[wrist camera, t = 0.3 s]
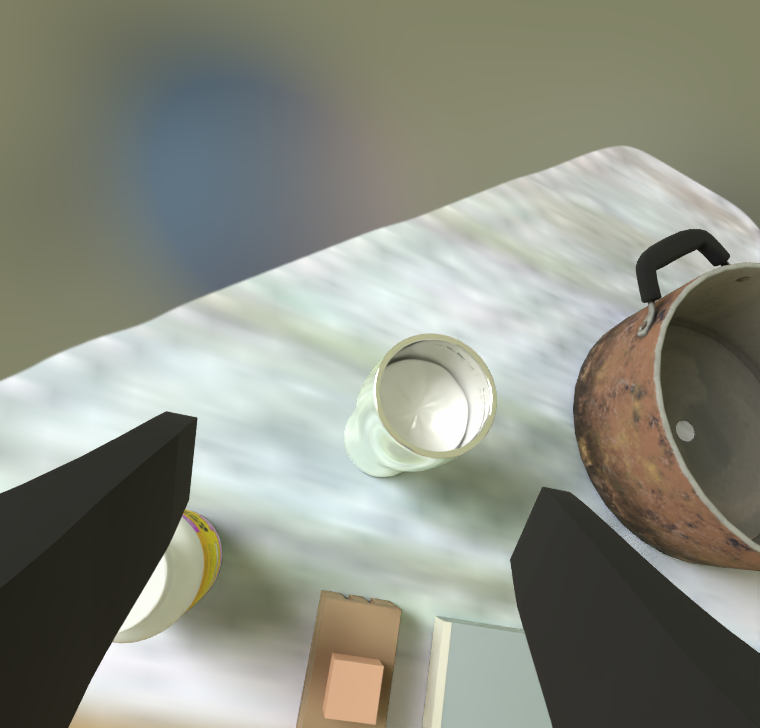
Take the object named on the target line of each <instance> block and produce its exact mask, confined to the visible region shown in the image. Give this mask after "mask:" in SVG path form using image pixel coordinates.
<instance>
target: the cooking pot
mask: <svg viewBox="0 0 760 728" xmlns="http://www.w3.org/2000/svg"><path fill="white" fill-rule="evenodd" d="M696 249H697V250H698V251H699V252H700V253H702V254H703V255H704V256H705V257H706V258H707V259H708V261H709V262H710V263H711V264H712V265H713V266H719V265H721V266H722V267H719V268H717V269H714V270H712V271H709V272H707V273H704V274H702V275H701V276H699V277H697V278H696V279H694V280H692V281H690V282H689V283H687V284H685V285H683V286H682V287H680V288H678V289H677V290H675V291H673V292H671V293H670V294H668V295H666V296H665V297H663V298H661V293H660V289H659V285H658V281H657V274H656V270H658V269H660V268H662V267H664V266H666V265H668V264H670V263H671V262H673V261H675V260H677V259H678V258H680V257H682V256H684V255H686V254H688V253H690V252H692V251H695V250H696ZM729 258H730V254H729V253H728V252H727V251H726V250H725V248H724V247H723V246H722V245H721V244H720V243H719V242H718V241H717V240H716V239H715V238H714V237H713V236H712V235H711V234H710V233H708V232H707V231H705V230H701V229H689V230H684V231H680V232H678V233H676V234H673V235H671V236H669V237H667V238H665V239H663V240H661V241H659V242H657V243H656V244H654V245H652V246H651V247H649V248H648V249H647V250H646V251H644V252H643V253H642V254H641V256H640V258H639V259H638V261H637V264H636V275H637V281H638V286H639V291H640V295H641V300H642V302H643V303H647V302H648V306H647V307H646V308H644V309H642V310H640V311H639V312H637V313H635V314H634V315H632V316H630V317H628V318H627V319H625V320H623V321H622V322H621V323H619V324H618V325H617V326H615V327H614V328H612V329H611V330H610V331H608V332H607V333H606V334H604V335H603V336H602V337H601V338H600V339H599V341H598V342H597V343H596V344H595V345H594V346H593V348H592V349H591V350H590V352H589V354H588V356H587V357H586V359H585V361H584V363H583V365H582V367H581V370H580V373H579V376H578V380H577V383H576V386H575V395H574V405H573V414H574V426H575V435H576V439H577V443H578V447H579V451H580V455H581V458H582V461H583V463H584V465H585V468H586V470H587V473H588V475H589V477H590V480H591V482H592V483H593V485H594V487H595V488H596V490H597V492H598V493H599V495H600V496H601V498H602V500H603V501H604V503H605V504H606V505H607V507H608V508H609V509H610V510H611V511H612V512H613V514H614V515H615V516H616V517H617V518H618V519H619V521H620V522H621V523H622V524H623V525H624V526H626V527H627V528H628V529H629V530H630V531H631V532H633V533H634V534H635V535H636V536H637V537H639V538H640V539H641V540H642V541H644V542H645V543H647V544H649V545H650V546H652V547H654V548H655V549H657V550H659V551H661V552H662V553H664V554H667V555H669V556H672V557H675V558H678V559H680V560H683V561H686V562H691V563H697V564H704V565H711V566H718V567H726V568H736V569H746V570H755V571H760V263H746V262H745V263H738V264H732V265H731V264H729V263H728V262H727V261H728V259H729ZM660 298H661V299H660ZM656 300H658V301H656ZM655 301H656V302H655ZM679 421H687V422H689V423H690V424H691V425H692V426H693V428H694V432H695V435H694V438H693V439H692V441H689V442H685V441H683V440H681V439H680V438H679V437H678V435H677V433H676V425H677V423H678V422H679Z"/></svg>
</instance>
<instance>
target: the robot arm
mask: <svg viewBox="0 0 760 728" xmlns="http://www.w3.org/2000/svg"><path fill="white" fill-rule="evenodd" d="M196 427H197V417H192V416H187V415H182V414H177V413H172V412H167V411H166V412H164V413H162V414H160V415H158V416H156V417H154V418H152V419H151V420H149V421H147V422H145V423H143V424H141V425H140V426H138V427H136V428H134V429H132V430H130V431H129V432H127V433H125V434H123V435H121V436H119V437H118V438H116V439H114V440H112V441H110V442H108V443H106V444H104V445H102V446H100V447H99V448H97V449H95V450H93V451H91V452H89V453H87V454H85V455H83V456H81V457H79V458H77V459H75V460H73V461H71V462H69V463H67V464H65V465H62V466H60V467H58V468H56V469H54V470H52V471H50V472H47V473H45V474H43V475H41V476H39V477H37V478H35V479H33V480H30V481H28V482H26V483H24V484H22V485H19V486H17V487H15V488H12V489H10V490H8V491H5V492H3V493H1V494H0V728H68V727H69V725H70V723H71V721H72V719H73V717H74V715H75V713H76V711H77V708H78V706H79V704H80V702H81V700H82V698H83V696H84V694H85V692H86V690H87V687H88V685H89V683H90V681H91V679H92V677H93V676H94V674H95V672H96V670H97V668H98V666H99V665H100V663H101V661H102V659H103V657H104V655H105V653H106V652H107V650H108V648H109V647H110V645H111V643H112V642H113V640H114V638H115V637H116V635H117V633H118V631H119V630H120V628H121V626H122V625H123V623H124V621H125V620H126V618H127V616H128V615H129V613H130V611H131V610H132V608H133V606H134V604H135V603H136V601H137V599H138V598H139V596H140V594H141V593H142V591H143V589H144V588H145V586H146V584H147V583H148V581H149V579H150V577H151V576H152V574H153V572H154V571H155V569H156V567H157V566H158V564H159V562H160V560H161V559H162V557H163V555H164V553H165V552H166V550H167V548H168V546H169V545H170V542H171V540H172V538H173V536H174V534H175V531H176V529H177V527H178V525H179V522H180V520H181V518H182V515H183V513H184V510H185V508H186V506H187V503H188V501H189V495H190V485H191V476H192V466H193V456H194V446H195V437H196ZM510 562H511V569H512V576H513V584H514V590H515V596H516V602H517V607H518V611H519V614H520V618H521V622H522V625H523V629H524V632H525V636H526V639H527V643H528V646H529V649H530V653H531V656H532V659H533V663H534V666H535V670H536V673H537V676H538V680H539V683H540V686H541V690H542V693H543V697H544V700H545V703H546V707H547V710H548V713H549V717H550V720H551V724H552V728H760V653H758V652H757V651H756V650H754V649H753V648H752V647H750V646H749V645H748V644H746V643H745V642H744V641H742V640H741V639H740V638H739V637H737V636H736V635H735V634H733V633H732V632H731V631H729V630H728V629H727V628H726V627H724V626H723V625H722V624H720V623H719V622H718V621H717V620H715V619H714V618H713V617H712V616H710V615H709V614H708V613H707V612H706V611H704V610H703V609H702V608H701V607H700V606H699V605H697V604H696V603H695V602H694V601H693V600H691V599H690V598H689V597H688V596H687V595H685V594H684V593H683V592H682V591H681V590H680V589H678V588H677V587H676V586H675V585H674V584H673V583H671V582H670V581H669V580H668V579H667V578H666V577H665V576H664V575H662V574H661V573H660V572H659V571H658V570H657V569H656V568H655V567H653V566H652V565H651V564H650V563H649V562H648V561H647V560H646V559H645V558H643V557H642V556H641V555H640V554H639V553H638V552H637V551H636V550H635V549H634V548H633V547H631V546H630V545H629V544H628V543H627V542H626V541H625V540H624V539H623V538H622V537H621V536H620V535H618V534H617V533H616V532H615V531H614V530H613V529H612V528H611V527H610V526H609V525H608V524H607V523H605V522H604V521H603V520H602V519H601V518H600V517H599V516H598V515H597V514H595V513H594V512H593V511H592V510H591V509H590V508H589V507H588V506H586V505H585V504H584V503H583V502H582V501H581V500H579V499H578V498H577V497H575V496H574V495H573V494H572V493H570V492H566V491H561V490H556V489H551V488H546V487H542V489H541V491H540V493H539V496H538V498H537V500H536V502H535V505H534V507H533V509H532V511H531V514H530V516H529V518H528V520H527V523H526V525H525V527H524V529H523V532H522V534H521V536H520V538H519V541H518V543H517V545H516V547H515V550H514V552H513V554H512V556H511V559H510Z"/></svg>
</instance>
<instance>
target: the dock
mask: <svg viewBox="0 0 760 728" xmlns="http://www.w3.org/2000/svg"><path fill="white" fill-rule="evenodd" d="M422 728H552V724H551V720H550V717H549V713H548V710H547V707H546V703H545V700H544V697H543V693H542V690H541V686H540V683H539V680H538V676H537V673H536V670H535V666H534V663H533V659H532V656H531V653H530V649H529V646H528V643H527V639H526V636H525V632H524V630H521V629H514V628H508V627H502V626H495V625H489V624H483V623H476V622H470V621H464V620H457V619H451V618H445V617H438V616H435V622H434V630H433V639H432V647H431V656H430V664H429V673H428V682H427V690H426V699H425V707H424V716H423V724H422Z"/></svg>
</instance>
